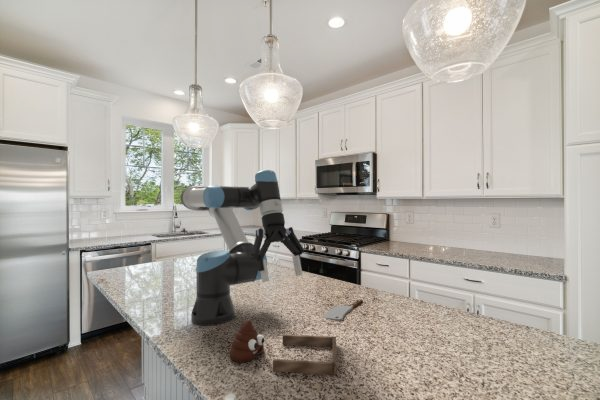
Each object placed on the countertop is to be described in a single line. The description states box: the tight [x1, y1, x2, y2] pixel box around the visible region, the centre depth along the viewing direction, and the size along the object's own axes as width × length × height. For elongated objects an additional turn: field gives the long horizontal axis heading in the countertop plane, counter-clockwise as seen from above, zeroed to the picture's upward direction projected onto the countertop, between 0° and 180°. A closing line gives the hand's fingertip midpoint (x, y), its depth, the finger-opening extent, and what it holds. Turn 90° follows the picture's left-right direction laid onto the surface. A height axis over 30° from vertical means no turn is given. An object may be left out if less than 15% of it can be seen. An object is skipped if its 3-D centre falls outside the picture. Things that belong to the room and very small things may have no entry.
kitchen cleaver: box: [321, 299, 364, 322], centre depth 113 cm, size 24×1×10 cm
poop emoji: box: [229, 318, 265, 363], centre depth 80 cm, size 10×8×9 cm
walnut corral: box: [272, 333, 338, 376], centre depth 78 cm, size 16×15×2 cm
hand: (283, 278), depth 94 cm, fingers open, 13 cm apart
